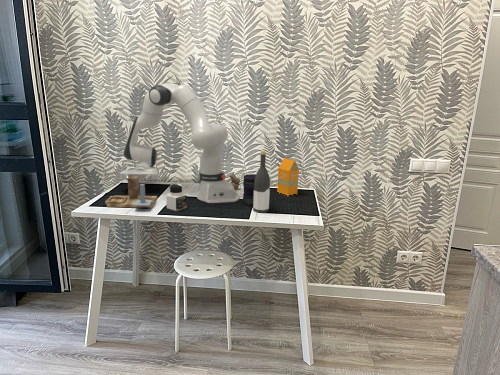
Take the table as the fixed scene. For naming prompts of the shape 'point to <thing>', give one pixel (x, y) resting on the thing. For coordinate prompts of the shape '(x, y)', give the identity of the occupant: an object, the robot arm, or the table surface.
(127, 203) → the board
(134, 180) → the walnut block
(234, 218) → the table surface
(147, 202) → the grey post on base
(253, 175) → the storage jar
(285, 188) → the orange juice
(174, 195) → the medicine bottle
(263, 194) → the wine bottle
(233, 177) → the chocolate bunny
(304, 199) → the table surface
